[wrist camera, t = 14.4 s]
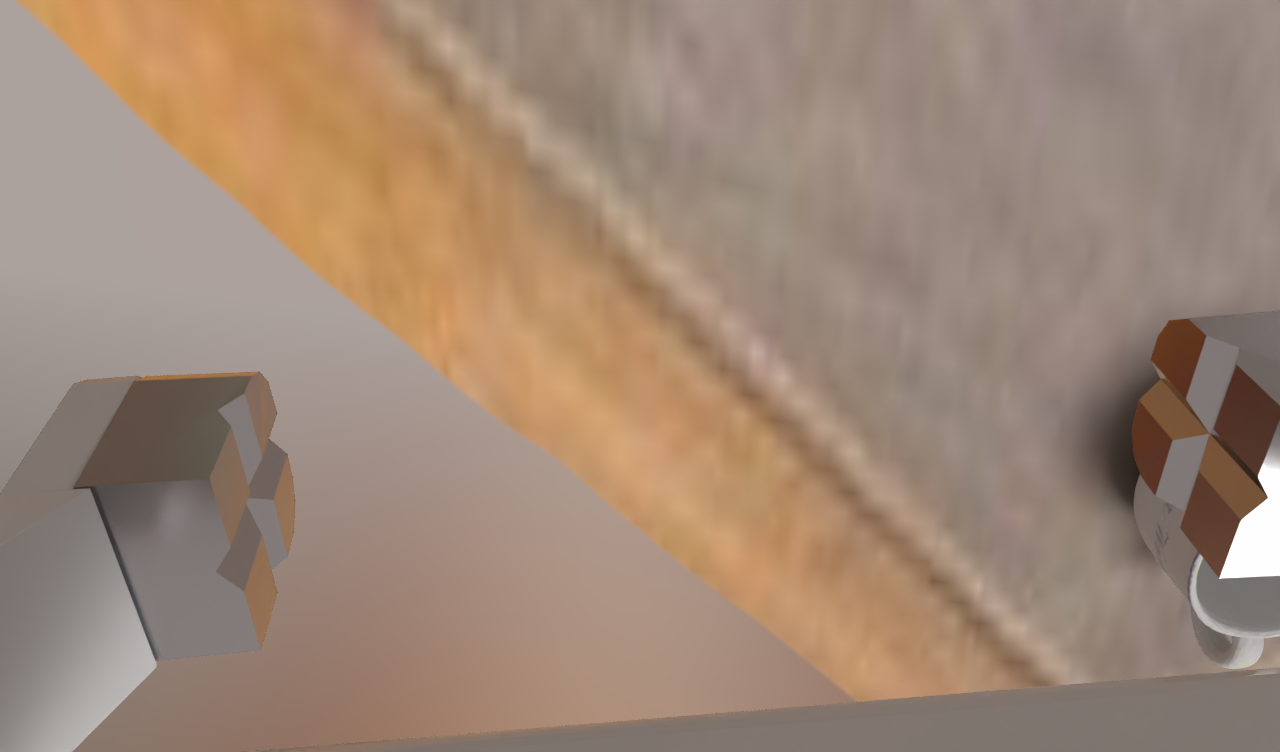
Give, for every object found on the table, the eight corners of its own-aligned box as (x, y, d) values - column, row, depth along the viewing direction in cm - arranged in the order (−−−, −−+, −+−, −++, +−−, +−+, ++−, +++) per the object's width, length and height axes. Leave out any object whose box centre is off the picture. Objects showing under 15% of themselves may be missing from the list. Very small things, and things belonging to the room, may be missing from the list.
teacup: (1173, 348, 51) (1270, 449, 44) (1362, 382, 53) (1482, 483, 46) (1048, 563, 58) (1115, 677, 51) (1219, 585, 60) (1305, 698, 54)
